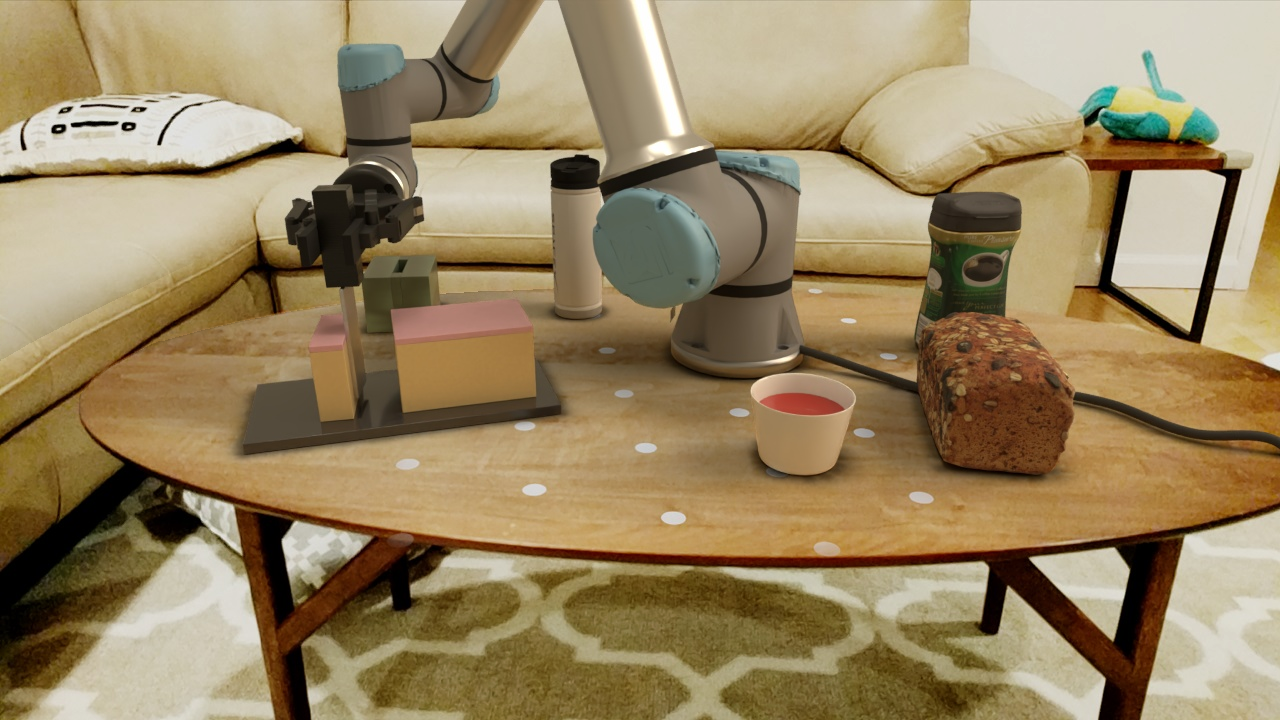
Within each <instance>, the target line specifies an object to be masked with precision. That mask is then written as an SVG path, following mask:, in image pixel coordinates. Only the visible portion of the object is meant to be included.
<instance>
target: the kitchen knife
mask: <svg viewBox="0 0 1280 720" xmlns="http://www.w3.org/2000/svg"><path fill="white" fill-rule="evenodd" d="M311 198H312V205H314V212H315V218H316V225H317V231H318V238H319V244H320V251H321V255H320V256H321V262H322V264H321V265H322V268H323V269H322V270H323V275H324V277H323V278H324V282H325V283H324V284H325V288H326V289H331V288H333V289H334V288H335V289H337V288H339V290H338V292H339V300H340V307H341V314H343V321H344V327H345V334H346V341H347V348H348V354H349V361H350V368H351V375H352V381H353V388H354V395H355V398H359V397H360V395H361V392H362V390H363V387H364V385H365V383H366V373H367V372H366V367H365V360H364V359H365V358H364V353H363V346H362V344H363V343H362V338H361V332H360V325H359V317H358V310H357V303H356V296H355V288H356V287H357V288H358V287H360V286H361V285H362V283H361V282H362V281H363V279H364V266H363V258H362V256H361V257H360V258H359V260H358V261H357V263H356V264H355V266H346V264H345V256H344V248H343V240H342V235H343V233H344V232H345V231H346V230H347V228H348V227H349V226H350V225H351V224H352V222H353V221H354V220H355V219H356V214H355V206H354V199H353V192H352V185H351V184H344V185H333V184H318V185H316V187H315V188H313V189H312V190H311Z"/></svg>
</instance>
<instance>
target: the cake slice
mask: <svg viewBox="0 0 1280 720" xmlns="http://www.w3.org/2000/svg"><path fill="white" fill-rule="evenodd" d="M307 348H308V355H309V359H310V366H311V372H312V378H313V379H314V385H315V391H316V397H317V403H318V409H319V415H320V421H321V422H326V421H337V420H347V419H354V415H355V411H356V406H357V402H358V398H355V395H354V388H353V381H352V375H351V368H350V361H349V354H348V348H347V341H346V334H345V327H344V321H343V314H342V313H333V314H321V315H320V318H319V320H318V322H317V325H316V328H315V330H314V332H313V335H312V337H311V340H310V342H309V345H308V347H307Z"/></svg>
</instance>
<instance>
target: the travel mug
mask: <svg viewBox="0 0 1280 720" xmlns="http://www.w3.org/2000/svg"><path fill="white" fill-rule="evenodd" d="M549 171H550V173H549V175H550V190H551V191H550V212H551V214H550V215H551V217H550V218H551V236H552V237H551V239H552V240H551V243H552V271H553V273H552V274H553V299H554V304H553V305H554V313H555V315H557V316H559V317H560V318H564V319H568V320H569V319H571V320H587V319H591V318H594V317H597V316H599V315H600V314H601V313H602V312H603V281H602V280H603V278H602V277H603V272H602V270H601V268H600V266H599V264H598V261H597V259H596V255H595V252H594V247H593V228H594V227H595V226H596V224H597V221H596V216H597V214H598V212H599V211H600V209H601V208H602V206H601V205H602V194H601V191H600V188H599V185H598V179H599V177H600V175H601V162H600V161H599V160H598V159H597V158H594V157H590V155H589V154H577V153H576V154H574V156H567V157H562V158H561V157H560V158H557V159H555V160H553V161H551V162H550V165H549Z"/></svg>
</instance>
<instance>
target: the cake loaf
mask: <svg viewBox="0 0 1280 720" xmlns="http://www.w3.org/2000/svg"><path fill="white" fill-rule="evenodd" d="M391 318H392V327H393V332H392V335H393V344H394V354H395V363H396V369H397V372H398V381H399V388H400V396H401V403H402V411H403V413H407V412H415V411H423V410H432V409H440V408H448V407H456V406H465V405H473V404H481V403H489V402H498V401H506V400H514V399H522V398H531V397H536V381H535V359H534V355H535V340H534V339H535V338H534V337H535V336H534V325H533V323H532V322H531V320H530V318H529V317H528V314H527V312H526V311H525V310H524V308H523V307H522V304H521V302H520V300H519V299H518V298H516V297H515V298H508V299H506V298H505V299H496V300H495V299H494V300H482V301H471V302H462V303H450V304H449V303H448V304H440V305H437V306H426V307H415V308H404V309H392V310H391Z"/></svg>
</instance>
